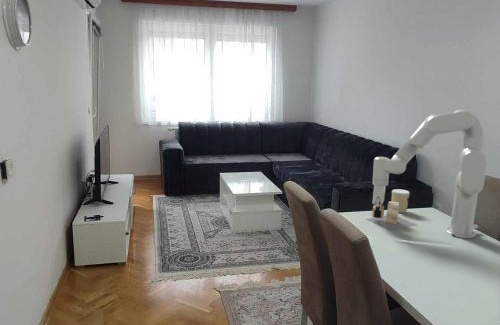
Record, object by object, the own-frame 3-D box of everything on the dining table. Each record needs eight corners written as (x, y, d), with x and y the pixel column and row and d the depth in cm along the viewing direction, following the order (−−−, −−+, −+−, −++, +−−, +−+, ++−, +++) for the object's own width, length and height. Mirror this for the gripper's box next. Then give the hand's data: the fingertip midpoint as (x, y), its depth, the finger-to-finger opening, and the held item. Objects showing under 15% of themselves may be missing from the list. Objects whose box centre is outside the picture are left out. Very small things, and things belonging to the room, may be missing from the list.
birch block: (387, 210, 205) (388, 201, 204) (398, 212, 203) (399, 202, 202) (386, 213, 200) (387, 203, 199) (397, 214, 198) (398, 205, 197)
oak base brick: (386, 219, 206) (387, 210, 205) (397, 221, 204) (398, 212, 203) (385, 222, 201) (386, 213, 200) (396, 224, 199) (397, 214, 198)
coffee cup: (410, 214, 217) (412, 193, 215) (393, 214, 217) (395, 193, 215) (403, 209, 227) (406, 189, 224) (387, 209, 227) (389, 188, 224)
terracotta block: (373, 214, 207) (374, 205, 206) (383, 215, 205) (384, 206, 204) (372, 217, 202) (372, 207, 201) (382, 218, 200) (383, 208, 199)
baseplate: (392, 216, 214) (392, 214, 214) (418, 226, 199) (418, 224, 199) (365, 220, 206) (365, 219, 206) (389, 232, 191) (390, 230, 191)
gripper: (374, 177, 209) (372, 210, 213) (370, 184, 194) (368, 219, 197) (389, 178, 206) (387, 212, 210) (386, 186, 191) (383, 222, 194)
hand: (378, 215), depth 203 cm, fingers closed on terracotta block, 4 cm apart
